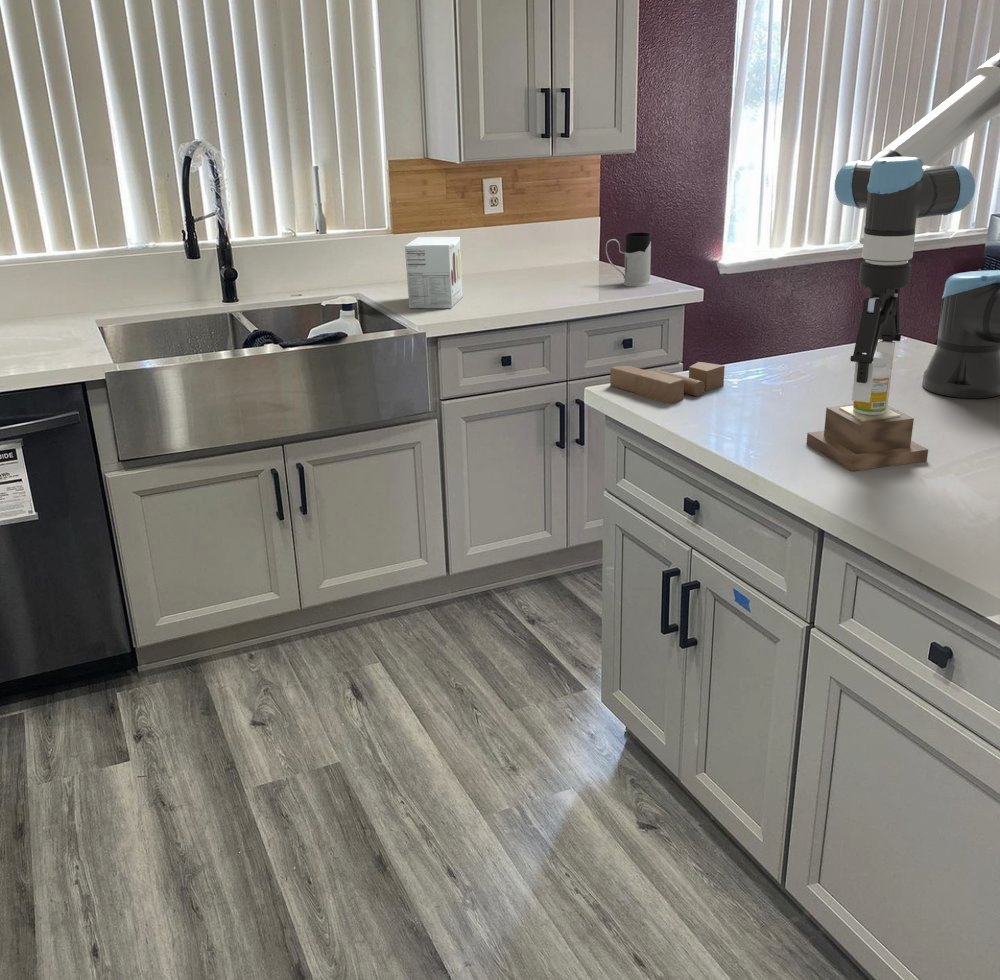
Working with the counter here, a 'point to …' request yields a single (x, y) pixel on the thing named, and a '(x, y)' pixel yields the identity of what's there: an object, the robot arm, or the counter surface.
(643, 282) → the glass holder
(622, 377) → the wooden block set
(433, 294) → the supplement box
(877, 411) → the supplement bottle
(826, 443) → the plinth
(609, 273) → the counter surface
